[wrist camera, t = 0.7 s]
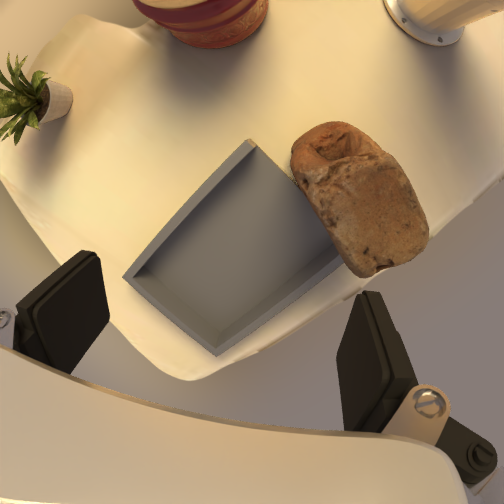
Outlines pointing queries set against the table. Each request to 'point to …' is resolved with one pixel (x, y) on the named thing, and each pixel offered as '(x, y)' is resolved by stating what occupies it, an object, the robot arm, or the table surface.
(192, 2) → the canister
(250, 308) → the tray
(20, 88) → the house plant
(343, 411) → the robot arm
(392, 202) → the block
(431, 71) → the table surface
